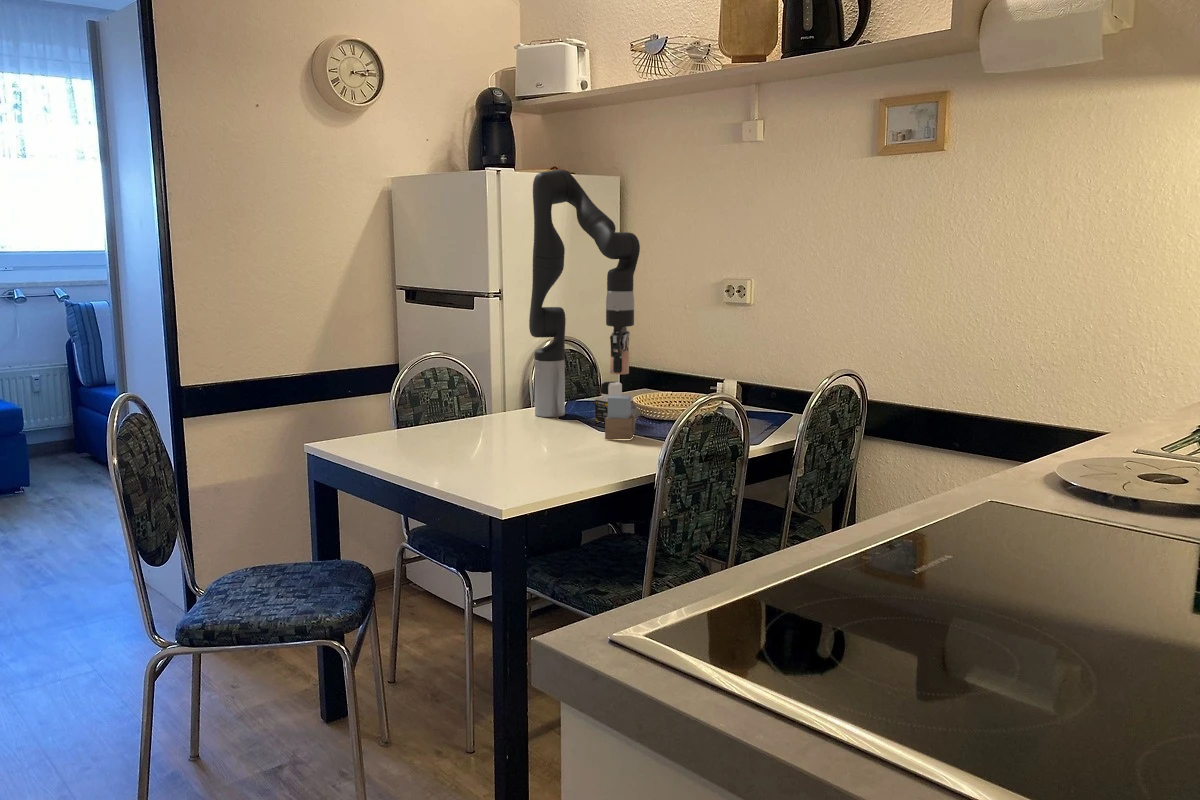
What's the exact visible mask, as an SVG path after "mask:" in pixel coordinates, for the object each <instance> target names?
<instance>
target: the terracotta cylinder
mask: <svg viewBox="0 0 1200 800" xmlns="http://www.w3.org/2000/svg"><path fill="white" fill-rule="evenodd" d="M616 352H618V350H616ZM609 355H610V357H609V358H610V359H609V360H610V361H609V362H610V364H609V365H610V368H609V369H610V373H609V374H611V375H629V374H630V350H629V351H627V350H624V351H623V354H622V356H623V357H622V372H621V373H615V372H614V371H613V359H614V358H613V357H611V352H610V354H609Z"/></svg>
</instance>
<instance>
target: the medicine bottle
mask: <svg viewBox="0 0 1200 800" xmlns="http://www.w3.org/2000/svg"><path fill="white" fill-rule="evenodd" d="M611 395H623V384H622V383H621V382H618V381H604V382H602V384H601V397H596V398H595V399H594V405H595V406H594V407H595V409H594V414H595V415H594V422H595V421H601V422H605V418H606V417H607V416H608V397H609V396H611Z"/></svg>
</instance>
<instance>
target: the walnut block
mask: <svg viewBox="0 0 1200 800" xmlns="http://www.w3.org/2000/svg"><path fill="white" fill-rule="evenodd" d="M634 434H635V435H636V414H631V416H630V417H629V418H628V419H619V418H608V416H607V417H606V418H605V424H604V440H605V439H631V438H632V437H633V435H634Z"/></svg>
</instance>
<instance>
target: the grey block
mask: <svg viewBox="0 0 1200 800" xmlns="http://www.w3.org/2000/svg"><path fill="white" fill-rule="evenodd" d="M631 415H632V395H630V394H629V395H628V394H627V395H626V394H622V395H611V396H609V397H608V418H619V419H628V418H629V417H630V416H631Z"/></svg>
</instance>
